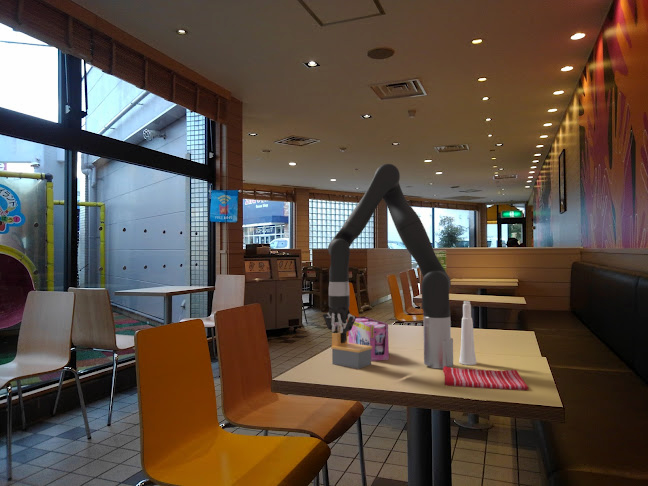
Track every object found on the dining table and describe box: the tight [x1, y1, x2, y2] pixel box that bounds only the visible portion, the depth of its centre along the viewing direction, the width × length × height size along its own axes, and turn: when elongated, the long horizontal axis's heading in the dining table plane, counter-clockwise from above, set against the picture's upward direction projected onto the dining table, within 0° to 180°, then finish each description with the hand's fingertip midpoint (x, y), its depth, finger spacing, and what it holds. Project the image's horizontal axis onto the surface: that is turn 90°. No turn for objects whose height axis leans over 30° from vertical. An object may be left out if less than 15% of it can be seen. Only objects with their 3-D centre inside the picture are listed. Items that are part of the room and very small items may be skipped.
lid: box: [331, 331, 372, 353], centre depth 162 cm, size 12×9×6 cm
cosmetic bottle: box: [458, 300, 478, 366], centre depth 165 cm, size 6×6×22 cm
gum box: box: [348, 316, 390, 362], centre depth 178 cm, size 24×8×14 cm, turn 17°
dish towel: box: [442, 366, 529, 391], centre depth 142 cm, size 17×24×3 cm
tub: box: [331, 349, 372, 370], centre depth 162 cm, size 11×8×6 cm
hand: (339, 342), depth 165 cm, fingers closed on lid, 2 cm apart
